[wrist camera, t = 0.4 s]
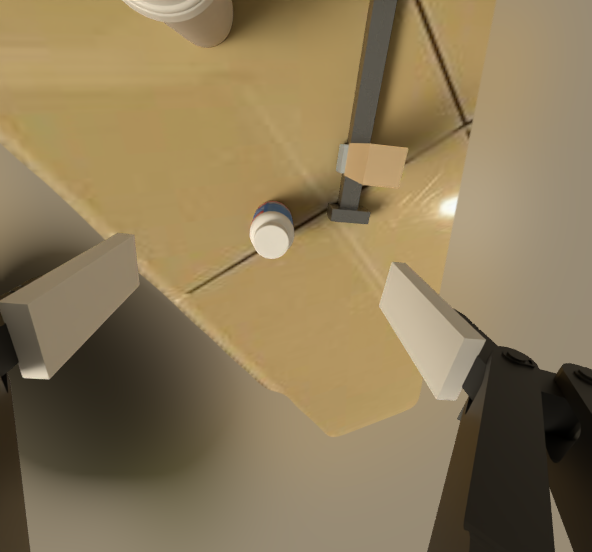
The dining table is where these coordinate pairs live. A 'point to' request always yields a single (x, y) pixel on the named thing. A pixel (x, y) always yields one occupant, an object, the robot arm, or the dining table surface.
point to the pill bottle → (272, 229)
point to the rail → (365, 104)
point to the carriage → (372, 163)
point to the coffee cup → (191, 18)
